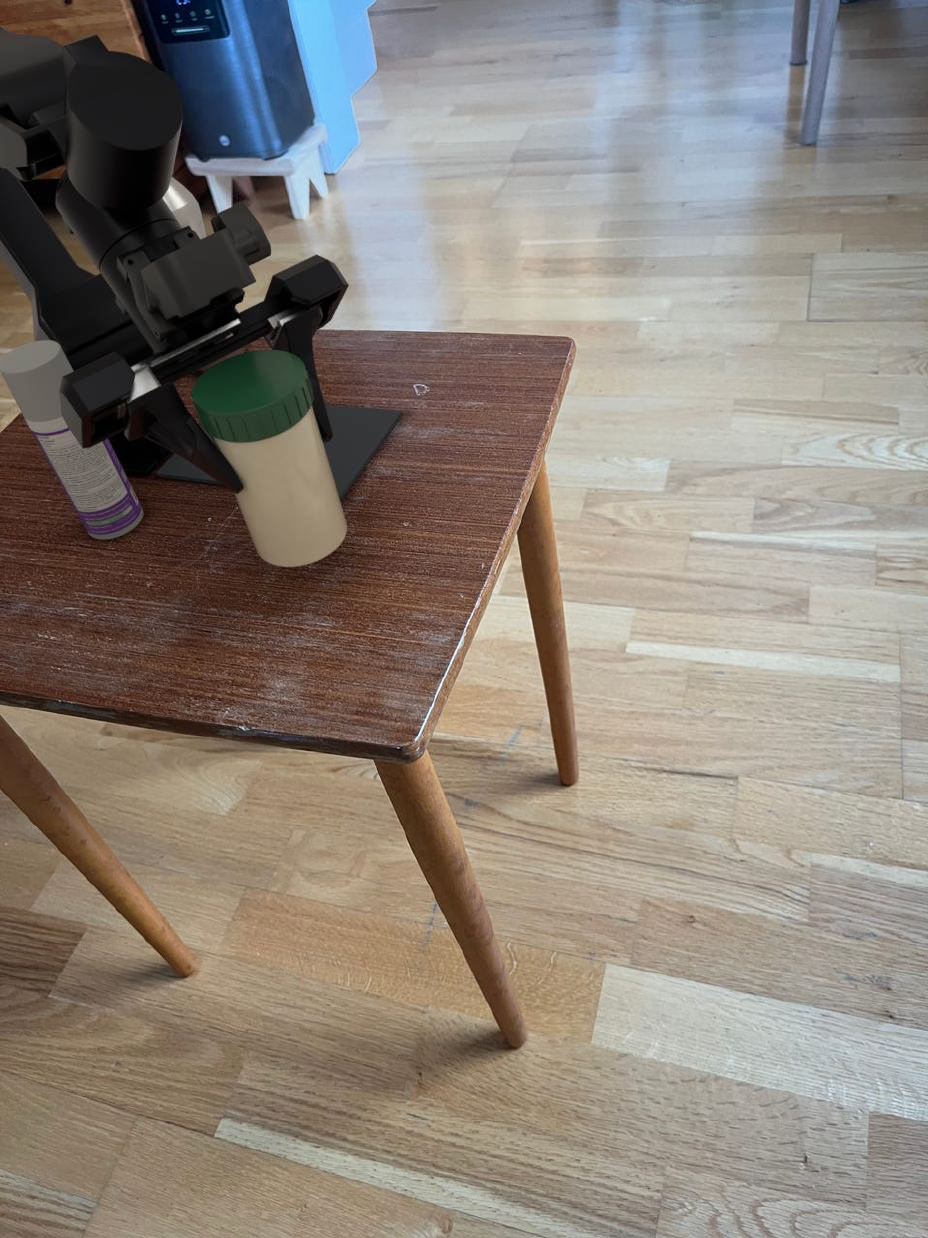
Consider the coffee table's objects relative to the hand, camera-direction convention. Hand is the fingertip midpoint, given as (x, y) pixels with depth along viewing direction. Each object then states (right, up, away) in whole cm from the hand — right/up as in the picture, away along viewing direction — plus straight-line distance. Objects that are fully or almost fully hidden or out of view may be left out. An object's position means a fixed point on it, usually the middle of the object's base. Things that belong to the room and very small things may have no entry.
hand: (285, 465), depth 60 cm
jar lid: (-2, +4, -3) cm, 5 cm away
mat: (-5, +5, +22) cm, 23 cm away
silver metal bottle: (-13, +16, +35) cm, 40 cm away
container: (-17, -2, +18) cm, 25 cm away
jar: (0, -4, +6) cm, 7 cm away
